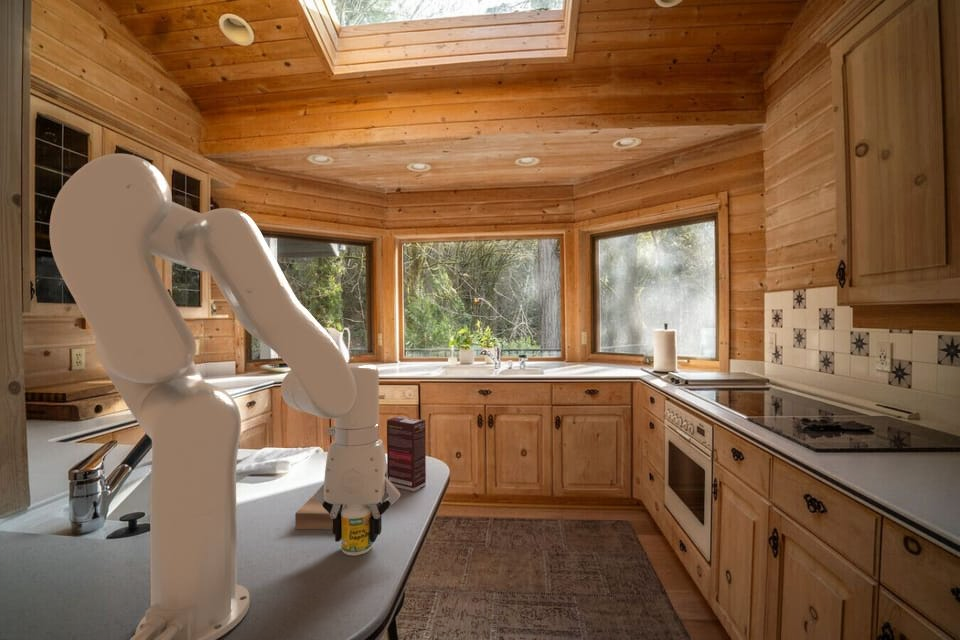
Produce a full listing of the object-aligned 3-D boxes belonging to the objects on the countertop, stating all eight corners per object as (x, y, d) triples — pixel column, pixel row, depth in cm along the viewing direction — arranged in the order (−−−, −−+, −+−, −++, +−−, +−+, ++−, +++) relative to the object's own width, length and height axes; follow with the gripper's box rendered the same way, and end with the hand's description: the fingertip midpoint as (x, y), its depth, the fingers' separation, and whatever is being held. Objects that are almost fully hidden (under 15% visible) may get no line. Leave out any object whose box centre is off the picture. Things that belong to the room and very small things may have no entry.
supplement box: (426, 485, 102) (426, 419, 102) (414, 492, 98) (413, 423, 98) (399, 478, 106) (399, 415, 106) (386, 485, 102) (385, 419, 102)
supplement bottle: (367, 537, 78) (367, 485, 78) (377, 550, 73) (377, 495, 73) (337, 546, 75) (337, 491, 75) (346, 560, 70) (346, 502, 70)
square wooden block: (352, 529, 81) (352, 513, 81) (295, 529, 81) (295, 513, 81) (369, 504, 92) (369, 490, 92) (318, 503, 92) (318, 489, 92)
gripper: (298, 440, 71) (299, 549, 71) (401, 441, 70) (401, 550, 70) (317, 428, 78) (317, 526, 78) (409, 429, 78) (410, 527, 78)
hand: (357, 536), depth 74 cm, fingers closed on supplement bottle, 5 cm apart
